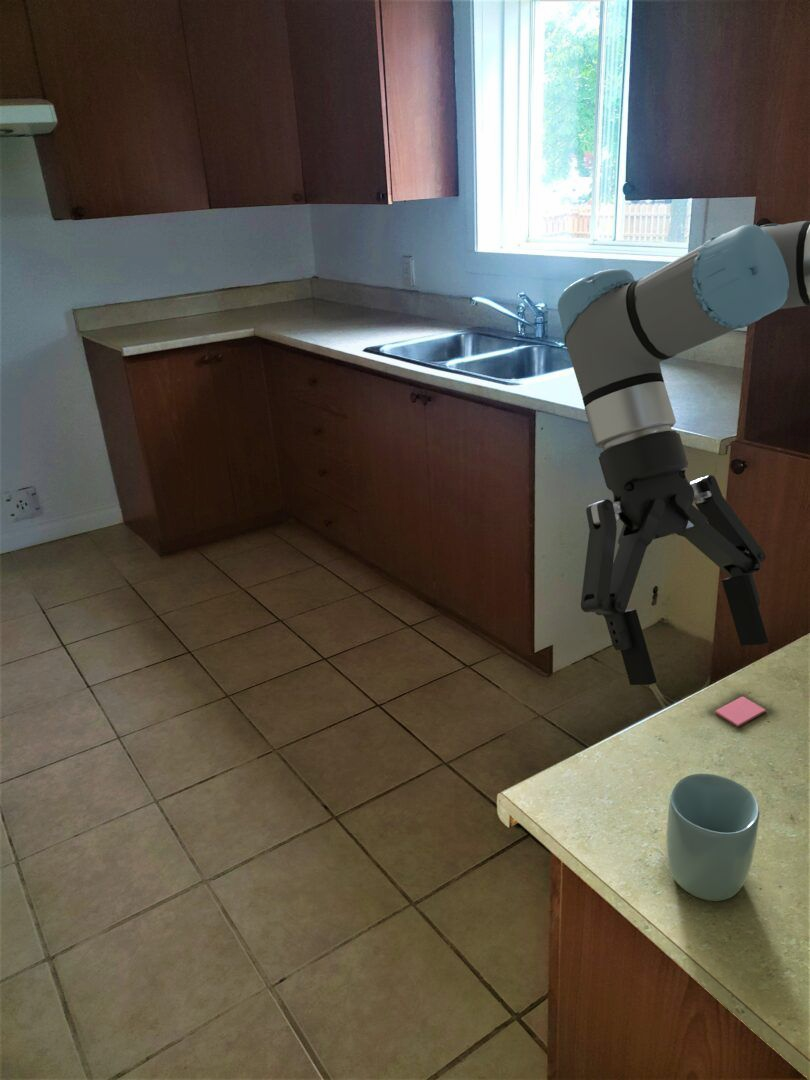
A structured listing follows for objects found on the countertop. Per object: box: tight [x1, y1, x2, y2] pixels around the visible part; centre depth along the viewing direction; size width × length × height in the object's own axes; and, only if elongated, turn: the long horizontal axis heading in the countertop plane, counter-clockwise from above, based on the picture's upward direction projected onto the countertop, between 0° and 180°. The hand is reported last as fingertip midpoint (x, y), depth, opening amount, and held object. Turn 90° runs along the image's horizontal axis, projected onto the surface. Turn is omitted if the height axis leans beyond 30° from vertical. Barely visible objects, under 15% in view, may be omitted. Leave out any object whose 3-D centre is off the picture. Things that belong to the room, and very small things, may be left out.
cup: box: [665, 773, 760, 902], centre depth 77 cm, size 8×8×10 cm
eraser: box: [714, 696, 767, 728], centre depth 100 cm, size 5×3×1 cm
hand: (701, 663), depth 74 cm, fingers open, 13 cm apart
